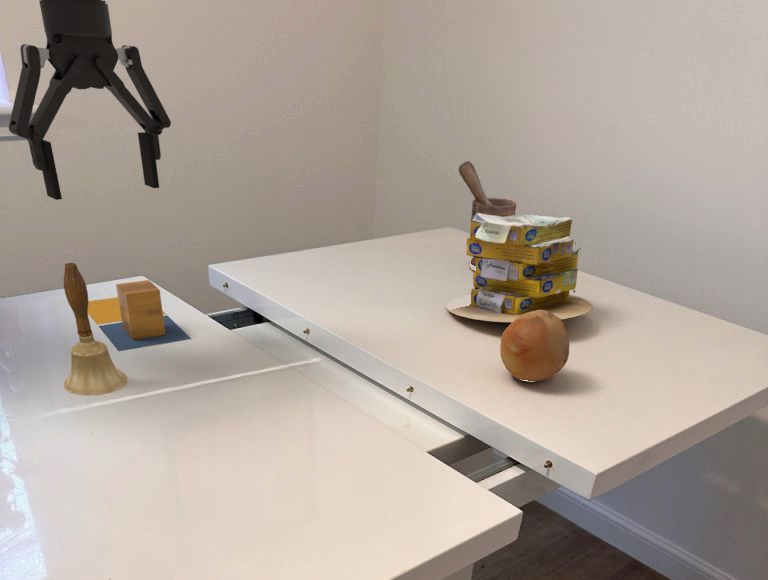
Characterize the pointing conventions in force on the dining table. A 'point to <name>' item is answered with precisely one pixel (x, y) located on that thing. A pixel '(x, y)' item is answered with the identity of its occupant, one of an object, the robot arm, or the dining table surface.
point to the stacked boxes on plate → (522, 268)
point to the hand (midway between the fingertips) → (105, 192)
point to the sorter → (116, 334)
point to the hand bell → (88, 346)
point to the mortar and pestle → (484, 197)
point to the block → (141, 309)
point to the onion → (535, 346)
